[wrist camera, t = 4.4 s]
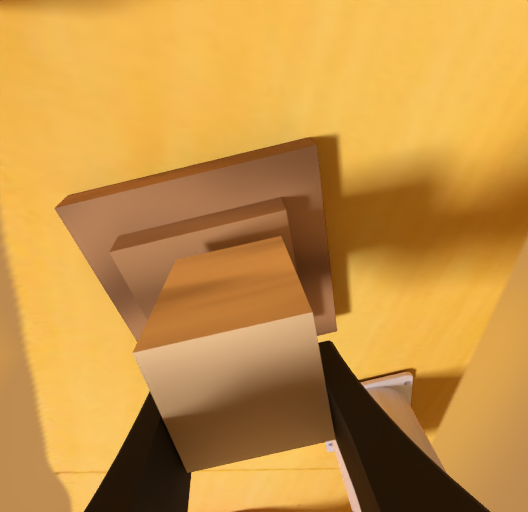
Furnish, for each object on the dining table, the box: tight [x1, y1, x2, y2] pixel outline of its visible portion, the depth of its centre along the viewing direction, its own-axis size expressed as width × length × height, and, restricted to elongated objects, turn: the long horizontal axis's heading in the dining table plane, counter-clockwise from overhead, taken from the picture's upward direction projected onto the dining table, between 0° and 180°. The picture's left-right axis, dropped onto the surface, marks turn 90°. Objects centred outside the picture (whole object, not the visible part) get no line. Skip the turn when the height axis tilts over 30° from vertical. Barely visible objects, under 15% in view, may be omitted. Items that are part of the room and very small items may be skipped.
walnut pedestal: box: [55, 138, 337, 342], centre depth 18 cm, size 12×12×3 cm
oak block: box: [133, 236, 336, 473], centre depth 11 cm, size 4×4×6 cm
